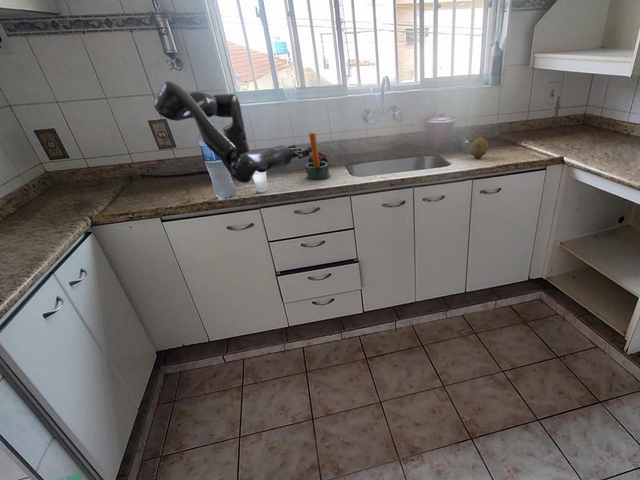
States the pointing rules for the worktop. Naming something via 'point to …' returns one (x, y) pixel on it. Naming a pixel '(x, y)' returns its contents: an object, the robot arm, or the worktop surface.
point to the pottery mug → (321, 158)
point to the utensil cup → (317, 171)
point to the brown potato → (478, 147)
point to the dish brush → (314, 149)
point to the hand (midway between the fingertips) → (303, 148)
